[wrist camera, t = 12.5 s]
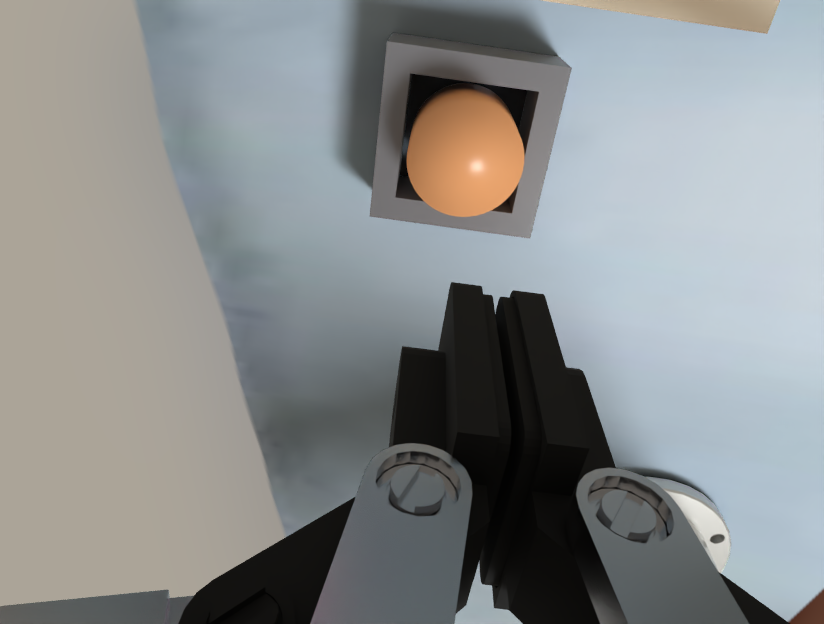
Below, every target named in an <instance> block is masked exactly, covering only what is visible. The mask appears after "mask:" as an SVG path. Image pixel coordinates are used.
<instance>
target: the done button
mask: <svg viewBox="0 0 824 624" xmlns="http://www.w3.org/2000/svg"><path fill="white" fill-rule="evenodd" d="M523 167H524V147H523V143H522V139H521V137H520V134H519V132H518V129H517V127H516V124H515V122H514V120H513V117H512V115H511V112H510V110H509V109H508V107H507V105H506V104H505V103H504V101H503V100H502V99H501V98H500V97H499V96H498V95H497V94H495V93H494V92H493V91H491V90H489V89H487V88H485V87H483V86H480V85H476V84H470V83H459V84H453V85H449V86H446V87H444V88H442V89H440V90H438V91H436V92H435V93H433V94H432V95H431V96H430V97H429V98H427V99H426V101H425V102H424V103H423V104H422V105H421V107H420V108H419V110H418V112H417V114H416V116H415V118H414V121H413V125H412V130H411V136H410V141H409V146H408V151H407V170H408V175H409V178H410V181H411V183H412V185H413V187H414V189H415V191H416V192H417V194H418V195H419V196H420V197H421V199H422V200H423V201H424V202H426V203H427V204H428V205H429V206H431V207H432V208H434V209H435V210H437V211H439V212H441V213H444V214H447V215H451V216H457V217H471V216H477V215H480V214H484V213H486V212H489V211H491V210H493V209H494V208H496V207H498V206H499V205H500V204H502V203H503V202H504V201H505V200H506V199H507V198H508V197H509V196H510V195H511V194H512V192H513V191H514V190H515V188H516V186H517V185H518V183H519V180H520V178H521V175H522V172H523Z"/></svg>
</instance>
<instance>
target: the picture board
mask: <svg viewBox="0 0 824 624" xmlns="http://www.w3.org/2000/svg"><path fill="white" fill-rule="evenodd" d="M542 1H549V2H555V3H562V4H569V5H576V6H583V7H589V8H596V9H603V10H610V11H617V12H623V13H630V14H637V15H644V16H651V17H657V18H664V19H671V20H678V21H685V22H691V23H698V24H705V25H712V26H719V27H725V28H732V29H739V30H746V31H753V32H759V33H766V34H767V33H768V30H769V28H770V25H771V23H772V20H773V18H774V15H775V12H776V10H777V7H778V5H779V2H780V0H542Z"/></svg>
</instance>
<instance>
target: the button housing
mask: <svg viewBox="0 0 824 624" xmlns="http://www.w3.org/2000/svg"><path fill="white" fill-rule="evenodd" d="M571 69H572V68H571V67H570V66H569V65H568V64H567V63H566V62H564V61H563V60H562V59H561V58H560V57H558V56H552V55H545V54H538V53H531V52H524V51H517V50H510V49H503V48H496V47H489V46H483V45H476V44H469V43H462V42H455V41H448V40H441V39H434V38H427V37H420V36H413V35H407V34H400V33H392V34H391V36H390V37H389V39H388V40H387V45H386V55H385V66H384V76H383V86H382V96H381V106H380V116H379V127H378V137H377V147H376V157H375V167H374V178H373V188H372V198H371V208H370V216H371V217H378V218H385V219H393V220H400V221H407V222H414V223H422V224H429V225H436V226H443V227H451V228H458V229H465V230H473V231H480V232H487V233H494V234H502V235H509V236H516V237H524V238H530V236H531V232H532V228H533V224H534V220H535V216H536V212H537V208H538V203H539V199H540V195H541V191H542V187H543V183H544V179H545V175H546V171H547V167H548V163H549V159H550V154H551V150H552V146H553V142H554V138H555V134H556V130H557V126H558V122H559V118H560V114H561V110H562V105H563V101H564V97H565V93H566V89H567V85H568V81H569V77H570V73H571ZM412 74H419V75H426V76H433V77H440V78H447V79H454V80H461V81H468V82H475V83H482V84H488V85H495V86H502V87H509V88H516V89H523V90H527V94H526V99H525V103H524V108H523V113H522V117H521V122H520V127H519V131H518V132H519V134H520V137H521V139H522V143H523V147H524V167H523V172H522V175H521V178H520V180H519V183H518V185H517V186H516V188H515V190H514V191H513V192H512V194H511V195H510V196H509V197H508V198H507V199H506V200H505V201H504V202H503V203H502V204H500V205H499V206H498V207H496V208H494V209H493V210H491V211H489V212H486V213H484V214H480V215H477V216H471V217H457V216H451V215H447V214H444V213H441V212H439V211H437V210H435V209H434V208H432V207H431V206H429V205H428V204H427V203H426V202H424V201H423V200H422V199H421V197H420V196H419V195H418V194H417V192H416V191H415V189H414V187H413V185H412V183H411V181H410V178H409V177H407V176H400V170H401V162H402V153H403V145H404V137H405V128H406V120H407V112H408V104H409V95H410V87H411V79H412Z"/></svg>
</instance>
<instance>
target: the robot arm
mask: <svg viewBox="0 0 824 624" xmlns="http://www.w3.org/2000/svg"><path fill="white" fill-rule="evenodd" d="M730 549H731V539H730V533H729V530H728V528H727V525H726V523H725V521H724V519H723V517H722V515H721V513H720V512H719V510H718V509H717V507H716V506H715V504H714V503H713V502H711V501H710V500H709V499H708V498H707V497H706V496H705V495H703V494H702V493H700V492H698V491H697V490H695V489H693V488H691V487H689V486H687V485H684V484H681V483H678V482H675V481H672V480H667V479H661V478H655V477H644V476H642V475H639V474H637V473H634V472H631V471H628V470H624V469H617V468H616V467H615V464H614V461H613V458H612V455H611V452H610V449H609V446H608V443H607V440H606V437H605V434H604V431H603V428H602V425H601V422H600V419H599V416H598V413H597V410H596V407H595V404H594V401H593V398H592V395H591V392H590V389H589V386H588V383H587V380H586V377H585V375H584V373H583V371H582V370H580V369H574V368H566V366H565V363H564V360H563V356H562V353H561V349H560V346H559V343H558V339H557V336H556V333H555V329H554V326H553V322H552V319H551V316H550V312H549V309H548V305H547V302H546V299H545V296H544V294H537V293H529V292H521V291H514V290H513V291H512V293H511V295H510V298H507V297H500V299H499V301H498V305H497V309H496V314H495V310H494V303H493V297H492V295H485V294H483V291H482V286H476V285H469V284H461V283H454V282H452V283H451V285H450V289H449V294H448V300H447V305H446V311H445V316H444V322H443V328H442V333H441V339H440V344H439V350H438V351H435V350H427V349H419V348H412V347H404V346H402V350H401V356H400V363H399V370H398V377H397V384H396V392H395V399H394V407H393V415H392V424H391V433H390V443H389V448H387V449H384V450H382V451H381V452H380V453H378V454H377V455H376V456H374V457H373V458H372V460H371V461H370V463H369V464H368V466H367V468H366V470H365V472H364V475H363V478H362V481H361V484H360V486H359V489H358V492H357V495H356V497H354V498H353V499H351V500H349V501H347V502H346V503H344V504H342V505H341V506H339V507H337V508H335V509H334V510H332V511H330V512H329V513H327V514H325V515H323V516H322V517H320V518H318V519H317V520H315V521H313V522H311V523H310V524H308V525H306V526H305V527H303V528H301V529H299V530H298V531H296V532H294V533H293V534H291V535H289V536H287V537H286V538H284V539H282V540H281V541H279V542H277V543H275V544H274V545H272V546H270V547H269V548H267V549H265V550H263V551H262V552H260V553H258V554H257V555H255V556H253V557H251V558H250V559H248V560H246V561H245V562H243V563H241V564H240V565H238V566H236V567H234V568H233V569H231V570H229V571H228V572H226V573H224V574H223V575H221V576H219V577H217V578H216V579H214V580H212V581H211V582H210V583H209V584H207V585H206V586H205V587H203V588H202V589H201V590H199V591H198V592H197V593H196V594H195V596H187V597H177V598H169V590H160V591H149V592H140V593H129V594H119V595H109V596H98V597H88V598H78V599H69V600H58V601H48V602H37V603H27V604H17V605H7V606H1V607H0V624H454V622H455V615H456V613H457V612H458V611H460V610H461V609H462V608H463V607H464V606H466V603H467V600H468V596H469V593H470V589H471V586H472V582H473V580H474V576H475V573H476V569H477V566H478V562H480V577H481V582H482V584H485V585H492V588H493V601H494V608H498V609H507V610H510V611H511V612H512V613H513V614H514V615H515V616H516V617H517V618H518V619H519V620H520V621H521V622H522V623H523V624H790V623H788V622H787V621H785V620H784V619H783V618H781V617H780V616H779V615H777V614H776V613H774V612H773V611H772V610H770V609H769V608H768V607H766V606H765V605H764V604H762V603H761V602H759V601H758V600H757V599H755V598H754V597H753V596H751V595H750V594H748V593H747V592H746V591H744V590H743V589H742V588H740V587H739V586H737V585H736V584H735V583H733V582H732V581H731V580H729V579H728V578H726V577H725V576H724V575H722V574H721V572H722V571H723V570H724V568H725V566H726V563H727V561H728V559H729V556H730Z"/></svg>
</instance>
